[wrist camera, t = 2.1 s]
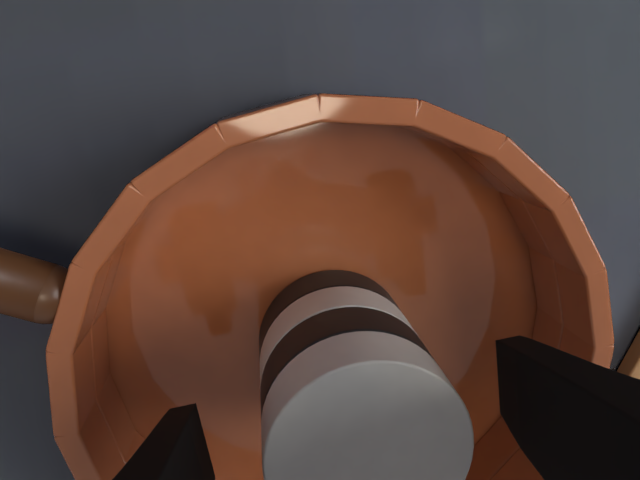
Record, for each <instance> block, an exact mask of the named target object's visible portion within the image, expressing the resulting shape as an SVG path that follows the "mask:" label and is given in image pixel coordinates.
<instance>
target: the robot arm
mask: <svg viewBox="0 0 640 480" xmlns="http://www.w3.org/2000/svg"><path fill="white" fill-rule="evenodd" d="M495 342H496V357H497V372H498V388H499V403H500V414H501V415H502V417H503V419H504V421H505V423H506V424H507V426H508V428H509V430H510V432H511V433H512V435H513V437H514V438H515V440H516V442H517V443H518V445H519V447H520V448H521V450H522V451H523V453H524V454H525V455H526V457H527V458H528V459H529V461H530V462H531V463H532V465H533V466H534V467H535V468H536V470H537V471H538V472H539V474H540V475H541V476H542V478H543V479H544V480H640V379H637V378H634V377H631V376H628V375H625V374H622V373H619V372H616V371H614V370H611V369H608V368H605V367H603V366H600V365H597V364H595V363H592V362H589V361H587V360H584V359H582V358H579V357H577V356H574V355H571V354H569V353H566V352H564V351H561V350H559V349H556V348H554V347H551V346H549V345H546V344H544V343H541V342H538V341H536V340H533V339H530V338H527V337H524V336H520V335H519V336H514V337H509V338H504V339H500V340H495ZM112 480H215V473H214V470H213V466H212V462H211V458H210V454H209V451H208V447H207V443H206V439H205V436H204V432H203V428H202V424H201V420H200V417H199V413H198V409H197V405H196V403H194V404H190V405H185V406H180V407H175V408H171V409H169V410H168V411H167V412H166V413H165V415H164V416H163V417H162V418H161V420H160V421H159V422H158V424H157V425H156V426H155V428H154V429H153V430H152V431H151V433H150V434H149V435H148V437H147V438H146V439H145V441H144V442H143V443H142V444H141V446H140V447H139V448H138V449H137V451H136V452H135V453H134V454H133V456H132V457H131V458H130V459H129V461H128V462H127V463H126V464H125V466H124V467H123V468H122V469H121V470H120V471H119V472H118V474H117V475H116V476H115V477H114V478H113V479H112Z"/></svg>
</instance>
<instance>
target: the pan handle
mask: <svg viewBox="0 0 640 480" xmlns="http://www.w3.org/2000/svg"><path fill="white" fill-rule="evenodd" d="M67 271H68V269H67V268H65V267H63V266H61V265H58V264H54V263H51V262H48V261H44V260H41V259H37V258H34V257H30V256H27V255H24V254H20V253H17V252H13V251H10V250H7V249H3V248H0V314H4V315H8V316H12V317H15V318H19V319H23V320H27V321H30V322H34V323H40V324H52V323H53V321H54V318H55V314H56V311H57V308H58V304H59V300H60V296H61V293H62V289H63V286H64V282H65V278H66V275H67Z"/></svg>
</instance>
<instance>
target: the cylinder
mask: <svg viewBox="0 0 640 480" xmlns="http://www.w3.org/2000/svg"><path fill="white" fill-rule="evenodd" d="M259 361H260V400H261V440H262V471H263V477H264V480H465V479H466V476H467V474H468V472H469V469H470V465H471V462H472V457H473V450H474V432H473V426H472V421H471V418H470V415H469V412H468V410H467V408H466V406H465V404H464V402H463V400H462V399H461V397H460V396H459V394H458V393H457V391H456V390H455V389H454V387H453V386H452V384H451V383H450V381H449V380H448V378H447V377H446V376H445V374H444V373H443V371H442V370H441V368H440V367H439V365H438V364H437V362H436V361H435V360H434V358H433V357H432V355H431V354H430V352H429V351H428V349H427V348H426V347H425V345H424V344H423V342H422V341H421V339H420V338H419V336H418V335H417V333H416V332H415V331H414V329H413V328H412V326H411V325H410V323H409V322H408V320H407V319H406V318H405V316H404V315H403V313H402V312H401V310H400V309H399V307H398V306H397V304H396V303H395V302H394V300H393V299H392V297H391V296H390V295H389V293H388V292H387V291H386V290H385V289H384V288H383V287H382V286H380V285H379V284H378V283H377V282H375V281H374V280H372V279H370V278H368V277H366V276H364V275H361V274H359V273H355V272H351V271H344V270H327V271H320V272H316V273H312V274H309V275H307V276H304V277H302V278H300V279H298V280H296V281H294V282H293V283H291V284H290V285H289V286H287V287H286V288H285V289H283V290H282V291H281V292H280V293H279V294H278V295H277V296H276V298H275V299H274V300H273V301H272V303H271V304H270V306H269V307H268V309H267V311H266V313H265V315H264V317H263V320H262V324H261V327H260V334H259Z"/></svg>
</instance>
